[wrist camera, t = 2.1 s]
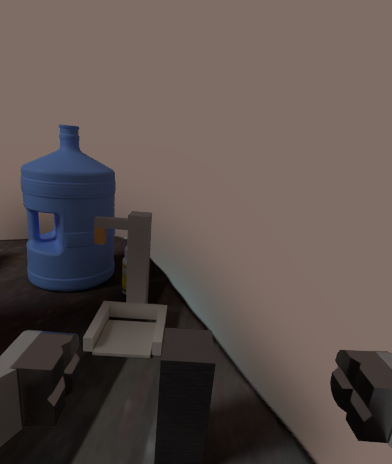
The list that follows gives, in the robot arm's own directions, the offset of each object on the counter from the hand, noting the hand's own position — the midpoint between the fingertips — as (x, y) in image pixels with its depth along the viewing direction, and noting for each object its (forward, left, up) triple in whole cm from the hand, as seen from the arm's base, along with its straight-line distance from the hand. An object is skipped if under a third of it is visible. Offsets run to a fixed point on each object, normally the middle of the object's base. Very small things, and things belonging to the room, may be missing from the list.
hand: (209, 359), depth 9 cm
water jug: (-14, +49, -20) cm, 55 cm away
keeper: (-3, +31, -20) cm, 37 cm away
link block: (+2, +12, -20) cm, 23 cm away
